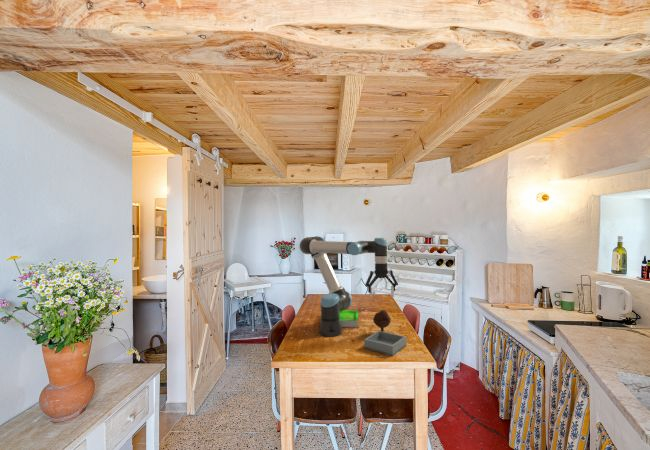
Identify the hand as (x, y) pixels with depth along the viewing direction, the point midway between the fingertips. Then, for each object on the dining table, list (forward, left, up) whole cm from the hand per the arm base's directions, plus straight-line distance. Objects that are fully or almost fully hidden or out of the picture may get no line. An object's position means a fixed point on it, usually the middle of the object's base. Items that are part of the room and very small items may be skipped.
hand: (381, 297), depth 192 cm
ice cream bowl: (0, 0, -23) cm, 23 cm away
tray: (-36, +6, -24) cm, 43 cm away
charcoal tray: (+11, -17, -23) cm, 30 cm away
